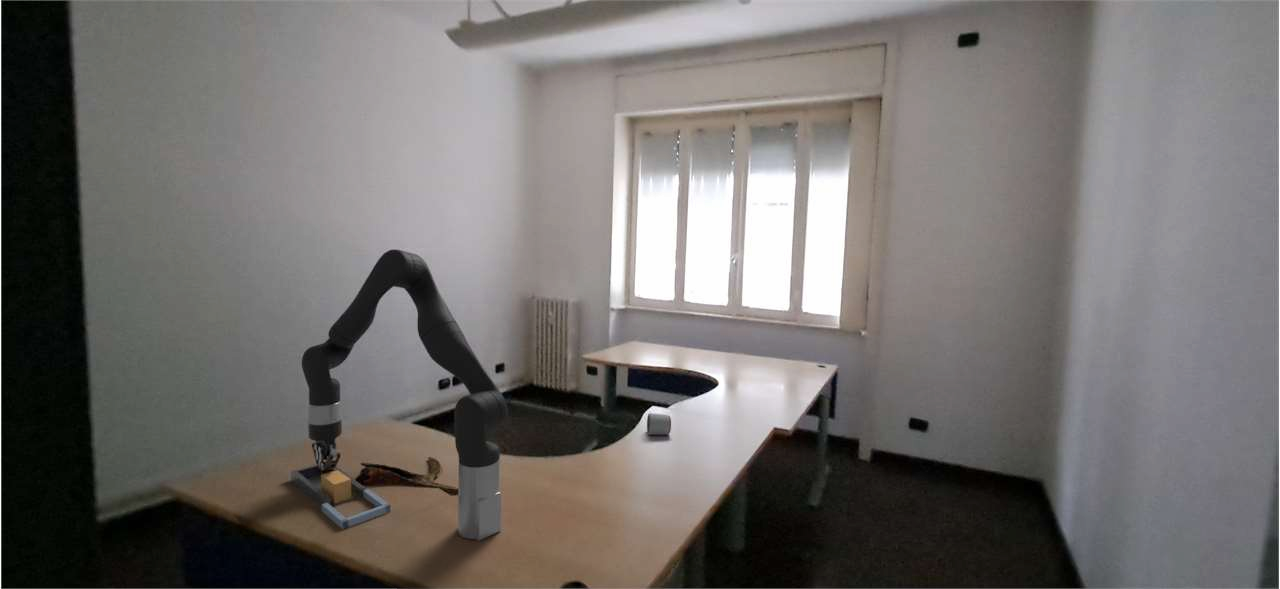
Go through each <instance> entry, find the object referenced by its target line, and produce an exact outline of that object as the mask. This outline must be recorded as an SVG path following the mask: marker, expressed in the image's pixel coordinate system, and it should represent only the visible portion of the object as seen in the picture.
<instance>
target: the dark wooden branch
mask: <svg viewBox="0 0 1280 589" xmlns="http://www.w3.org/2000/svg"><path fill="white" fill-rule="evenodd" d="M427 459H428V462H429V468H430V469H429V472H428V473H426V474H420V473H414V472H410V471H408V470H405V469H401V468H399V467H395V466H389V465H386V464H379V463H371V462H370V463H369V462H360V466H363V468H362V469H361V470H360V471H359V474H358V476H356V477H355V479H354V480H355V481H357V482H358V483H360V484H361V485H364V484H365V485H368V486H373V485H401V486H409V487H410V486H411V487H418V488H419V487H420V488H431V489H433V488H434V489H439V490H441V491H442V492H444V493H446V494H448V495H458V493H459V487H455V486H450V485H446V484H442V483H439V482H435V481H436V480H437V479H438V478H439V477H440V475H441V474H442V472H443V468H442V465H441V463H440V462H439V461H438V459H436V458H434V457H432V456H429V457H427Z"/></svg>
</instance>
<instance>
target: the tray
mask: <svg viewBox="0 0 1280 589" xmlns="http://www.w3.org/2000/svg"><path fill="white" fill-rule="evenodd" d="M362 498H364V499H365V500H366V501H368V502H370V503H371V504H372V505H373V506H374V508H372V509H369V510H366V511H362V512H360V513H357V514H354V515H351V516H348V517H345V516H344V515H343V514H342V513H340V512H339V511H338V510H337V509H335V507H332V506H331V505H329V504H328V503H324V504H322V507H321V512H322V513H323V514H324V515H325V516H326V517H327V518H329V519H330V520H331V521H333V523H335V524H336V525H337V526H338V527H339V528H340V529H341V530H345V529H348V528H351V527H353V526H356V525H359V524H361V523H364V522H366V521H369V520H372V519H375V518H377V517H380V516H382V515H386V514H389V513H391V504H390V503H388V502H387V501H386V500H384V499H382V498H381V497H380V496H378V495H377V494H376V493H374V492H373V491H371V490H370V489H368V488H367V489H365V490H364V491H363V497H362Z"/></svg>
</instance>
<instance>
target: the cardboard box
mask: <svg viewBox="0 0 1280 589" xmlns="http://www.w3.org/2000/svg"><path fill="white" fill-rule="evenodd" d="M328 497H330V499H331V501H332V502H333V503H334V504H335V503H338V502H341V501H344V500H347V499H350V498H351V479H350V478H348V477H347V476H346V475H341V476H338V477H335V478H331V479H328Z"/></svg>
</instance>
